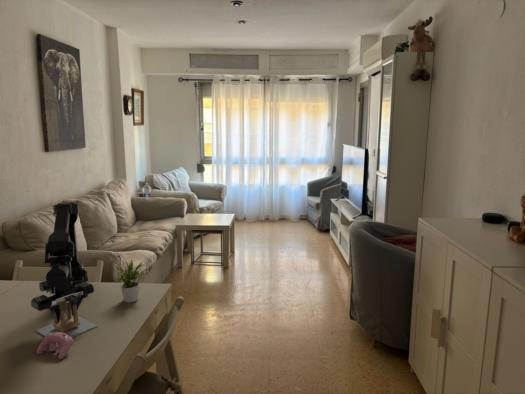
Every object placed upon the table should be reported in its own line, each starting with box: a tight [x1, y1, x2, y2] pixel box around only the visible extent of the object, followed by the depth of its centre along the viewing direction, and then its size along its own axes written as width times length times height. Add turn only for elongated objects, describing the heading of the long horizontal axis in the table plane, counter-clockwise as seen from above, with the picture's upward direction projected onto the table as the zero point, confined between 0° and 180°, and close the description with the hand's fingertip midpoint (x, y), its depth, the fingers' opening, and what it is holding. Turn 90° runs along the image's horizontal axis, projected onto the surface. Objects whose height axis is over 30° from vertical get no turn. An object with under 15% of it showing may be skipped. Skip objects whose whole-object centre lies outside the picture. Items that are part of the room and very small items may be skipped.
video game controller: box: [36, 332, 74, 360], centre depth 121 cm, size 10×5×7 cm, turn 72°
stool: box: [52, 300, 80, 332], centre depth 134 cm, size 6×6×7 cm
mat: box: [35, 315, 98, 345], centre depth 135 cm, size 14×14×1 cm
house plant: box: [114, 258, 149, 303], centre depth 156 cm, size 14×14×16 cm
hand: (66, 319), depth 135 cm, fingers closed on stool, 5 cm apart
